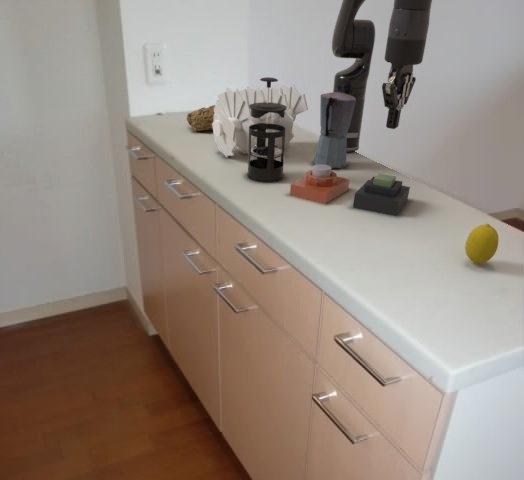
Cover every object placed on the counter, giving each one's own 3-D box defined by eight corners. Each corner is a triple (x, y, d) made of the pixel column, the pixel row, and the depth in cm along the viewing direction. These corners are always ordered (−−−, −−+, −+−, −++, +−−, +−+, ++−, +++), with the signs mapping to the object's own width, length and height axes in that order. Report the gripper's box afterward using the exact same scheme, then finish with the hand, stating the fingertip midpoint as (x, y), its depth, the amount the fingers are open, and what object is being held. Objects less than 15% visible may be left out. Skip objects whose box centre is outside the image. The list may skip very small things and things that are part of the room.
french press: (288, 182, 138) (295, 82, 125) (252, 184, 136) (254, 82, 122) (276, 168, 147) (281, 73, 134) (242, 169, 145) (243, 73, 132)
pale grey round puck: (317, 171, 133) (318, 163, 132) (333, 175, 131) (334, 166, 130) (308, 176, 130) (309, 167, 129) (325, 180, 128) (325, 171, 127)
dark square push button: (366, 193, 133) (369, 172, 131) (407, 201, 130) (411, 180, 127) (352, 208, 125) (355, 186, 122) (396, 216, 122) (400, 194, 119)
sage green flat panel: (377, 180, 127) (378, 173, 126) (394, 183, 126) (395, 176, 125) (372, 185, 124) (374, 178, 123) (390, 188, 123) (391, 181, 122)
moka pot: (352, 160, 156) (362, 82, 144) (341, 176, 144) (350, 93, 132) (320, 155, 158) (327, 79, 146) (305, 171, 146) (312, 89, 134)
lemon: (456, 257, 106) (466, 218, 101) (484, 257, 106) (495, 218, 101) (467, 271, 101) (478, 230, 96) (496, 270, 102) (509, 230, 97)
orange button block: (314, 182, 139) (315, 164, 136) (348, 190, 135) (350, 171, 132) (289, 195, 131) (291, 176, 128) (325, 204, 127) (327, 184, 124)
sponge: (198, 139, 173) (255, 121, 177) (190, 112, 169) (249, 95, 173) (187, 136, 184) (241, 119, 188) (180, 111, 180) (236, 95, 184)
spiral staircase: (211, 168, 158) (282, 152, 169) (239, 155, 143) (315, 139, 154) (193, 101, 154) (268, 89, 164) (220, 81, 138) (300, 69, 149)
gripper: (413, 40, 102) (396, 137, 112) (436, 34, 111) (419, 124, 121) (376, 36, 105) (363, 130, 115) (401, 31, 114) (387, 119, 124)
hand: (391, 127), depth 118 cm, fingers closed
